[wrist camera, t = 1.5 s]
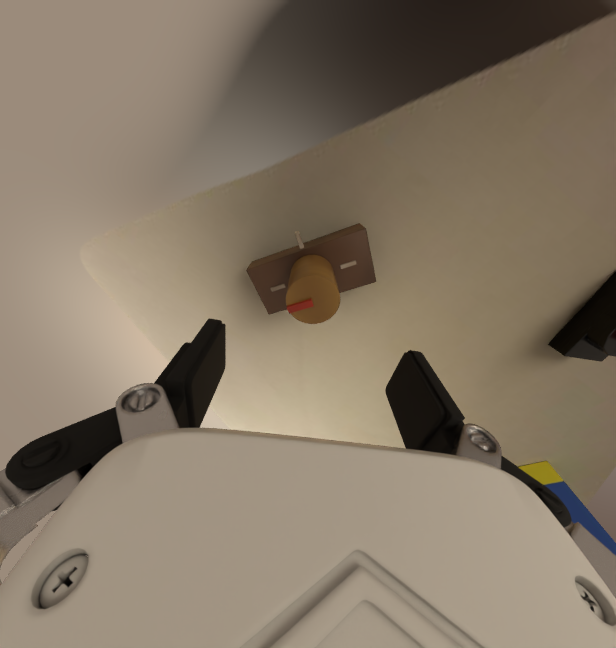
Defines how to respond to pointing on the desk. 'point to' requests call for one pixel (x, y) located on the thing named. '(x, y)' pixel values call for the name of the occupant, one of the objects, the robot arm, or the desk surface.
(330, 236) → the dial panel
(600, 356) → the button housing
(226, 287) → the desk surface
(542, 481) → the box
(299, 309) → the knob
